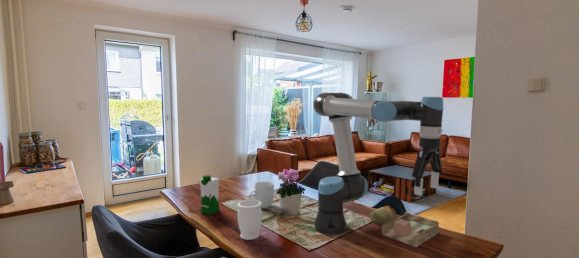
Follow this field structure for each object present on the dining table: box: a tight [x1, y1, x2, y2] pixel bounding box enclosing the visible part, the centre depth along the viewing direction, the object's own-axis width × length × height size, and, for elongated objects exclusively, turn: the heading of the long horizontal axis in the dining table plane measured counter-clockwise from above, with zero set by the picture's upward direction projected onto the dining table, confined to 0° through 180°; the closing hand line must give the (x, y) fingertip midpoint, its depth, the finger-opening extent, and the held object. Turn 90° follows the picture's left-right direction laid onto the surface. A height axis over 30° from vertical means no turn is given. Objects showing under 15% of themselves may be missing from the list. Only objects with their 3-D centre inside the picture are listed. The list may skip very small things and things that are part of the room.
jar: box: [236, 199, 263, 241], centre depth 135 cm, size 11×10×15 cm
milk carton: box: [198, 175, 221, 216], centre depth 164 cm, size 9×9×20 cm
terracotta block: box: [394, 219, 411, 237], centre depth 133 cm, size 5×5×5 cm
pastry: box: [369, 205, 399, 226], centre depth 152 cm, size 14×12×8 cm
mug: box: [248, 181, 275, 209], centre depth 172 cm, size 15×11×13 cm
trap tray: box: [381, 211, 440, 248], centre depth 137 cm, size 16×20×6 cm
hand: (426, 191), depth 119 cm, fingers open, 13 cm apart
